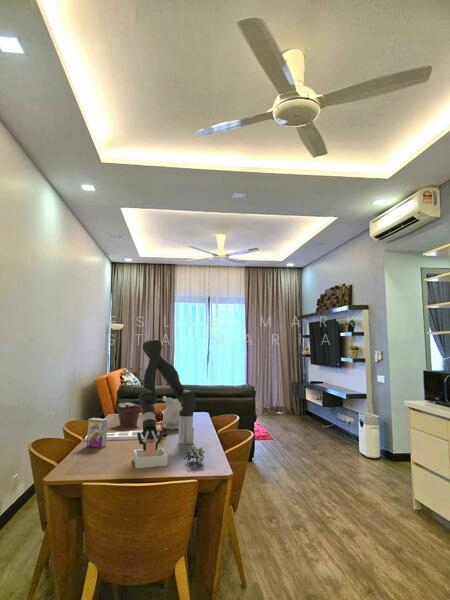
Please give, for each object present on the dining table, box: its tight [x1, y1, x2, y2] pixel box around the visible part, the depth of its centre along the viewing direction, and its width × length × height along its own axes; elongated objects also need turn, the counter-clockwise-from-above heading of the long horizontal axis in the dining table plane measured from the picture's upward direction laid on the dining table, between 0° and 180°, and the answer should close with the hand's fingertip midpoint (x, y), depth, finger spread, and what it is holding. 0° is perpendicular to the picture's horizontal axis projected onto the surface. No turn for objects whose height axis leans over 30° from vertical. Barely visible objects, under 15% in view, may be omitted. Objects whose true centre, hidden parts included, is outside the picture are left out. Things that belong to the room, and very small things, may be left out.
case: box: [116, 401, 142, 428], centre depth 289 cm, size 18×20×18 cm
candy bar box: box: [86, 417, 108, 449], centre depth 227 cm, size 11×5×16 cm, turn 71°
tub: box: [145, 439, 156, 457], centre depth 197 cm, size 5×5×8 cm
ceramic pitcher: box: [161, 395, 183, 430], centre depth 285 cm, size 22×20×25 cm
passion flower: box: [183, 444, 205, 466], centre depth 195 cm, size 11×11×12 cm
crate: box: [133, 447, 169, 469], centre depth 196 cm, size 16×16×5 cm
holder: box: [84, 429, 145, 442], centre depth 252 cm, size 45×18×3 cm, turn 101°
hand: (150, 450), depth 195 cm, fingers closed on tub, 5 cm apart
